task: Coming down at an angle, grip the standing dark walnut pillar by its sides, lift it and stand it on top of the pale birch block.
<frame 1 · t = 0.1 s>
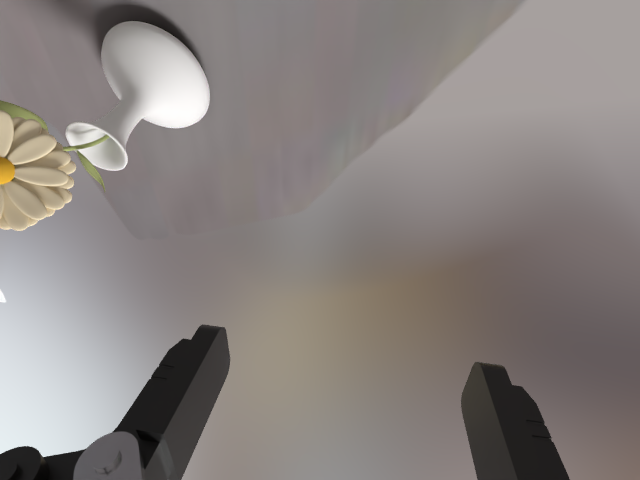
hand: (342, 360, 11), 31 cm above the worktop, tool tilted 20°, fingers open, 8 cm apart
flower in vase: (159, 65, 38), on the worktop
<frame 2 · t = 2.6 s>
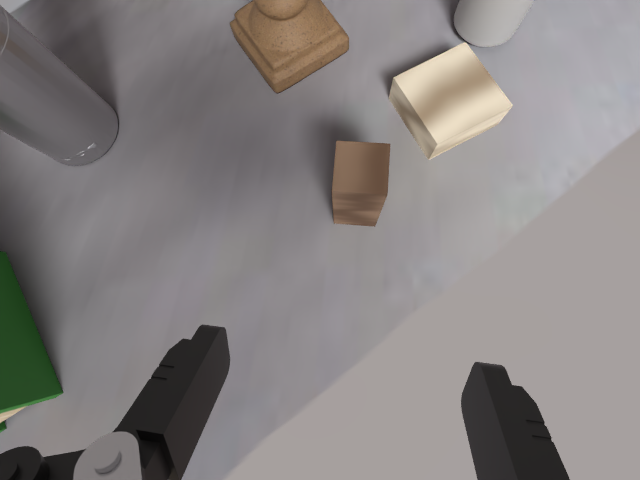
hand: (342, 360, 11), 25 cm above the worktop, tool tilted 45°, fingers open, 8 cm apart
candle holder: (290, 43, 43), on the worktop
can: (481, 27, 42), on the worktop
hardback book: (4, 337, 37), on the worktop
birch block: (441, 113, 40), on the worktop
walnut pillar: (355, 205, 38), on the worktop
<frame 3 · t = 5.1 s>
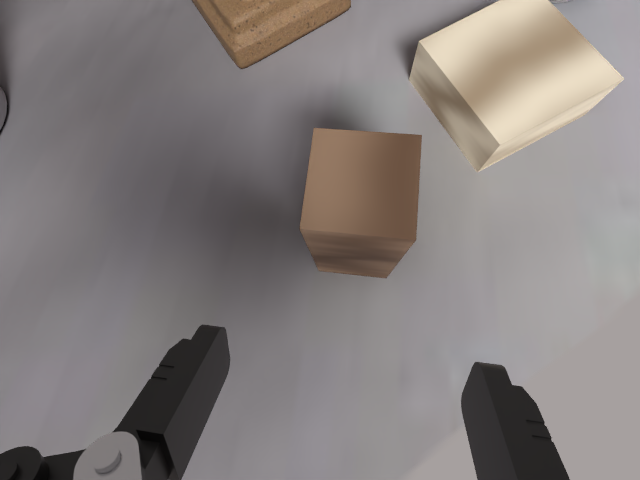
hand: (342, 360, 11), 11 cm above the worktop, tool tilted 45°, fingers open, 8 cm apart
candle holder: (266, 0, 30), on the worktop
birch block: (491, 99, 26), on the worktop
walnut pillar: (355, 242, 23), on the worktop
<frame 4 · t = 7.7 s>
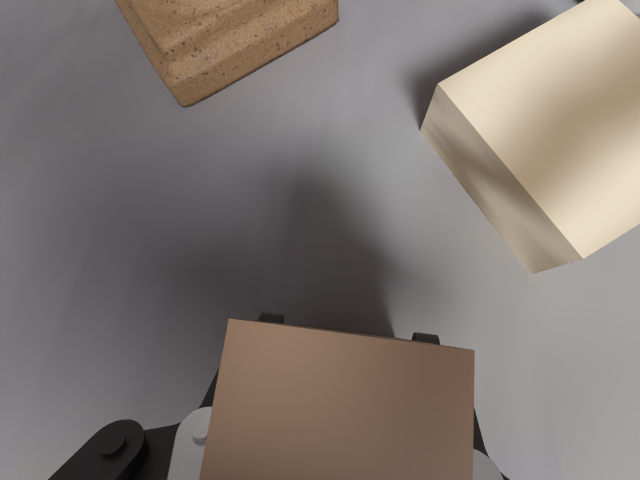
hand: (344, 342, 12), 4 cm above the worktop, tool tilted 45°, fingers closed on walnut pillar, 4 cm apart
candle holder: (223, 9, 22), on the worktop
birch block: (541, 157, 18), on the worktop
walnut pillar: (341, 382, 15), on the worktop, touching gripper
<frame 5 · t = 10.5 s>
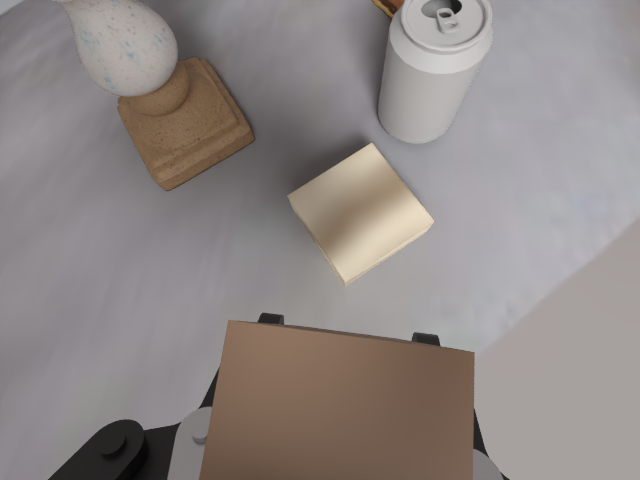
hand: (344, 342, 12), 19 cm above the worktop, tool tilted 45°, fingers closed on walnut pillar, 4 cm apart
candle holder: (190, 129, 37), on the worktop
shard: (420, 13, 39), on the worktop
can: (413, 116, 35), on the worktop
birch block: (357, 222, 33), on the worktop
walnut pillar: (341, 383, 15), point 15 cm above the worktop, touching gripper
when the fingers open (10 cm above the worktop, at t = 13.6 s): walnut pillar drops 2 cm, point 4 cm above the worktop.
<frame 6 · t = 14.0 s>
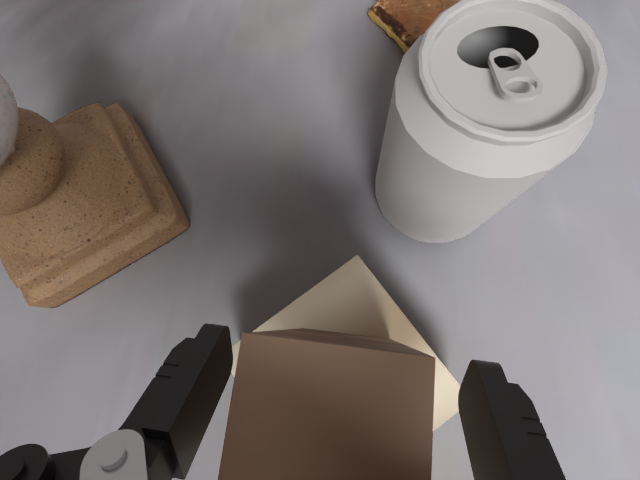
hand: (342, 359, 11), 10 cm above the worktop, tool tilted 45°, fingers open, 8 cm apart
candle holder: (97, 206, 25), on the worktop
shard: (437, 34, 27), on the worktop
can: (428, 194, 23), on the worktop
birch block: (341, 368, 21), on the worktop
walnut pillar: (342, 379, 17), point 4 cm above the worktop
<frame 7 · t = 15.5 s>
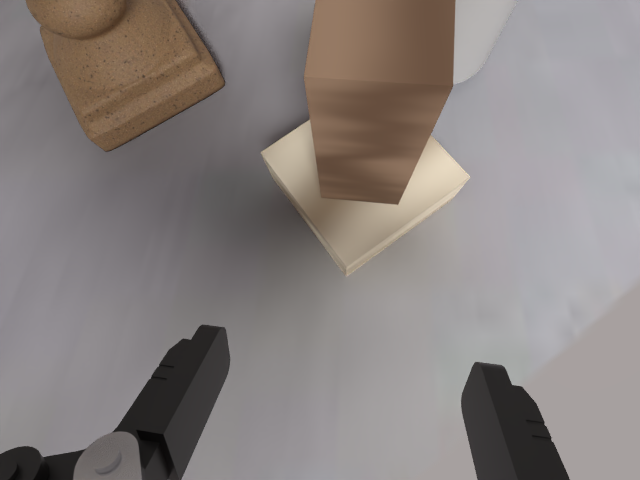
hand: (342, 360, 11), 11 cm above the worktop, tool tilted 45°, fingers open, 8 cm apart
candle holder: (142, 73, 28), on the worktop
can: (434, 55, 27), on the worktop
birch block: (359, 190, 24), on the worktop, touching walnut pillar
walnut pillar: (362, 166, 21), point 4 cm above the worktop, touching birch block
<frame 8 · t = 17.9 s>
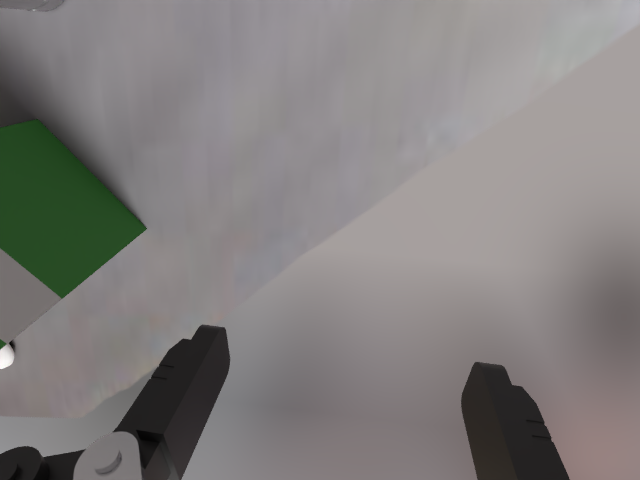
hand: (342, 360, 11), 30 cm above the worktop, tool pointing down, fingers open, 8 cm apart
hardback book: (82, 191, 46), on the worktop
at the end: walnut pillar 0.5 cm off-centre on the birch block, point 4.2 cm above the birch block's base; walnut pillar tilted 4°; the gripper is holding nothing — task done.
